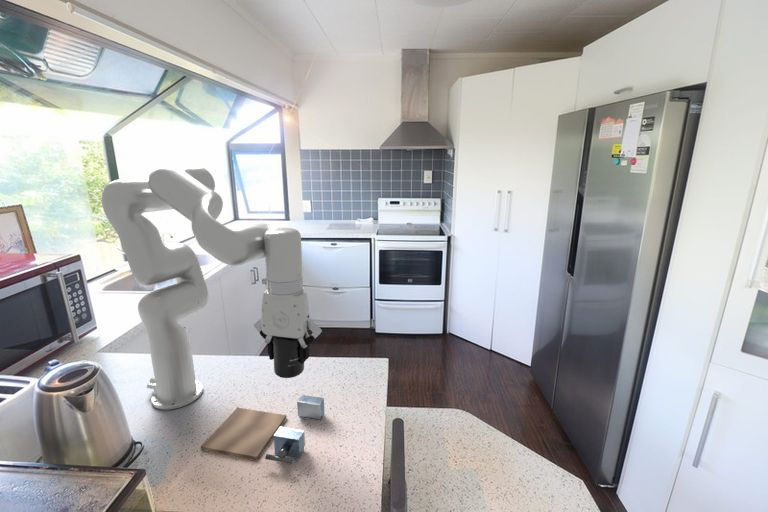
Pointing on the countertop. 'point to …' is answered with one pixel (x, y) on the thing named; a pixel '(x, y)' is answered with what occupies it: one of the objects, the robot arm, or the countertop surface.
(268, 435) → the walnut board
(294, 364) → the supplement bottle
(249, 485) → the countertop surface
